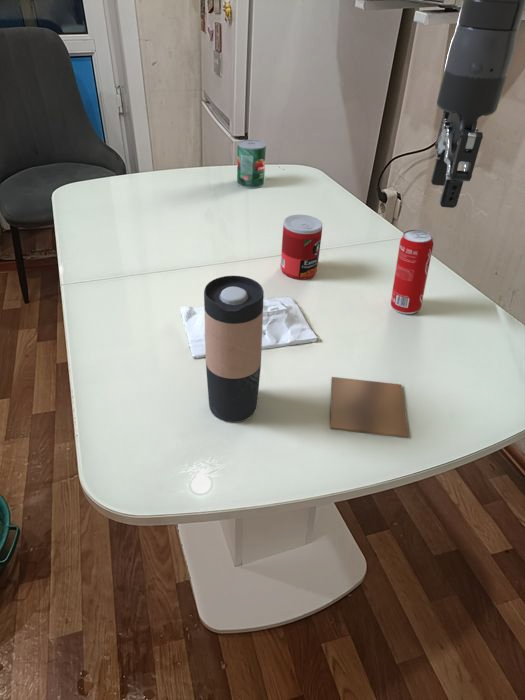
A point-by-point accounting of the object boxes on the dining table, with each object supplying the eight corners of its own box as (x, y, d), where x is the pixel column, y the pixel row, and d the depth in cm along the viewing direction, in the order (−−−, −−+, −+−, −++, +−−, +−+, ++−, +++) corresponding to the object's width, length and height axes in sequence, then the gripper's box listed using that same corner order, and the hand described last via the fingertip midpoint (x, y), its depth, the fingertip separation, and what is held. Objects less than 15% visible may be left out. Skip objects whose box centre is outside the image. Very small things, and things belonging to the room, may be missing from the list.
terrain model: (172, 319, 94) (168, 296, 91) (284, 292, 101) (285, 270, 98) (198, 373, 82) (196, 349, 79) (324, 339, 89) (326, 315, 86)
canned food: (304, 284, 104) (309, 234, 97) (272, 271, 108) (275, 222, 101) (324, 270, 109) (330, 221, 102) (293, 258, 112) (297, 210, 106)
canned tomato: (266, 188, 144) (267, 148, 137) (238, 188, 143) (238, 148, 136) (262, 178, 150) (263, 139, 144) (235, 178, 149) (236, 139, 143)
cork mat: (401, 386, 81) (401, 384, 81) (408, 438, 72) (408, 436, 72) (331, 378, 82) (331, 376, 81) (330, 429, 73) (330, 427, 73)
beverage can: (421, 317, 96) (441, 245, 87) (386, 312, 97) (402, 240, 88) (419, 300, 101) (438, 230, 92) (385, 296, 102) (401, 226, 92)
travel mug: (236, 381, 80) (238, 268, 68) (269, 407, 76) (277, 293, 63) (197, 402, 76) (190, 287, 64) (229, 432, 72) (229, 314, 59)
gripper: (522, 82, 58) (479, 217, 68) (493, 61, 69) (459, 179, 79) (455, 78, 59) (422, 212, 69) (437, 57, 70) (411, 175, 80)
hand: (442, 194), depth 74 cm, fingers open, 8 cm apart
